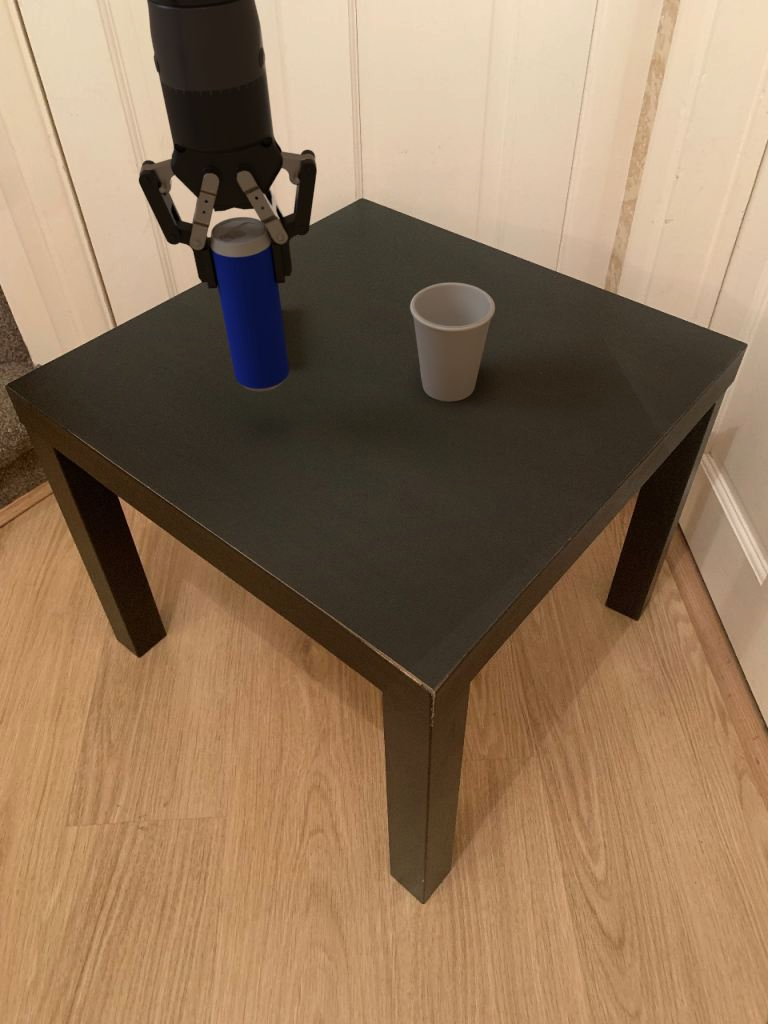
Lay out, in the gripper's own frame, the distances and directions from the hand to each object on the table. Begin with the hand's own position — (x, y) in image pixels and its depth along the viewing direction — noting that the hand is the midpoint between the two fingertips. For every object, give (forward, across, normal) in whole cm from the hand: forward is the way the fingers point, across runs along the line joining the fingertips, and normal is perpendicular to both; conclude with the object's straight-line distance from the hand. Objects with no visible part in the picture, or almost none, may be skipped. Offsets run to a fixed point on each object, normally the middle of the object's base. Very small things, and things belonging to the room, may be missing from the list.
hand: (246, 280), depth 68 cm
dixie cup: (+17, -19, -5) cm, 26 cm away
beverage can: (+11, 0, 0) cm, 11 cm away
